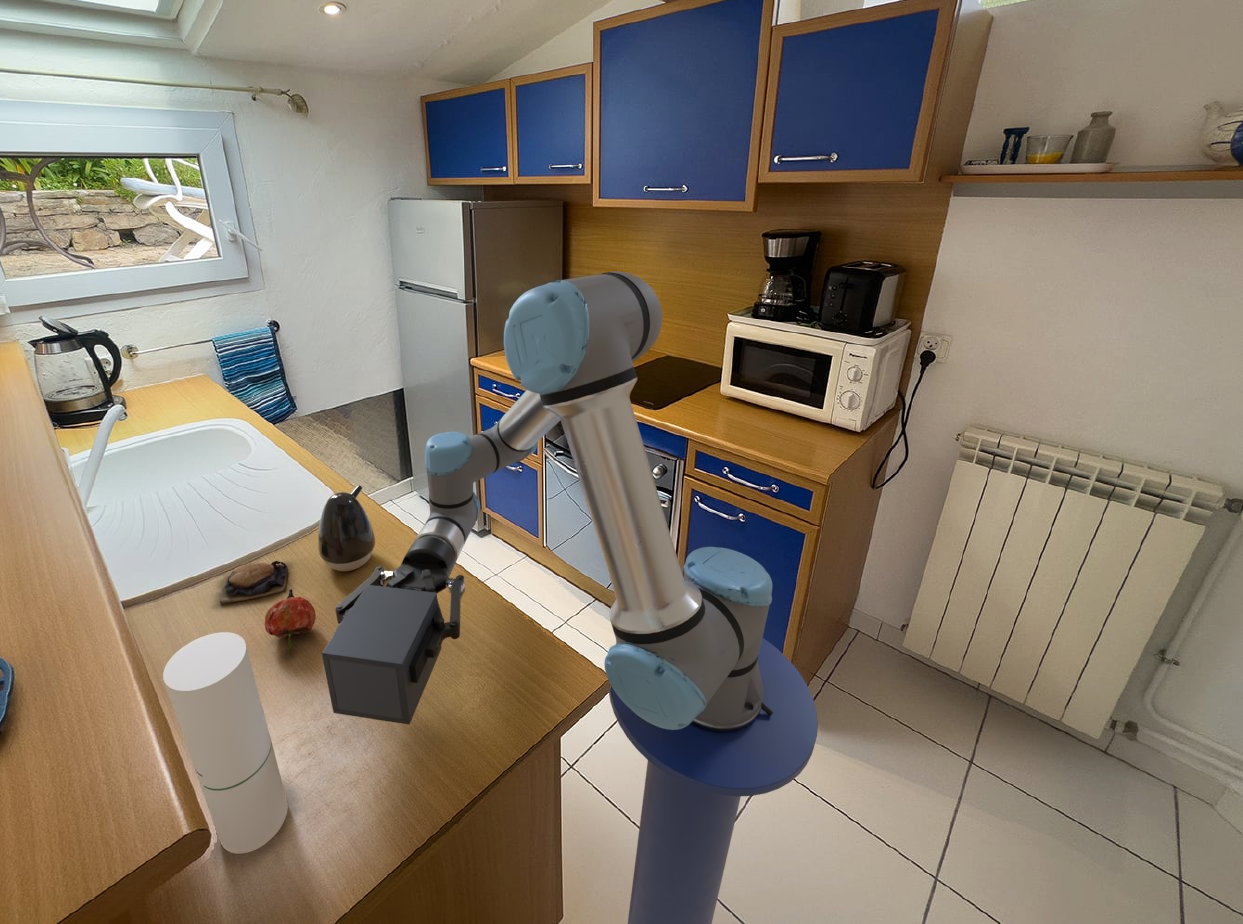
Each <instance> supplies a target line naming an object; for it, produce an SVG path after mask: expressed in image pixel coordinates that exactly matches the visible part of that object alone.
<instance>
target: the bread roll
mask: <svg viewBox="0 0 1243 924" xmlns="http://www.w3.org/2000/svg"><path fill="white" fill-rule="evenodd" d="M287 577H288V566H287V564H286V563H284V562H283V561H279V560H274V561H272V562H271V563H267V562H250V563H246V564H245V565H242V566H240V567H238V568H237V569H235V570H233V571H232V572H231V573H230V574H227V575H225V576H224V579H223V583H222V586H221V587H222V588H221V592H220V596H219V599H218V600H219V602H218V603H219V604H228V603H234V602H235V603H236V602H241V601H243V602H245V601H247V600H252V599H257V598H261V597H267V596H268V595H272V594H278V593H281V592H284V591H285V590H286V588H287V581H288V578H287Z"/></svg>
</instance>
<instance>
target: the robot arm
mask: <svg viewBox="0 0 1243 924" xmlns="http://www.w3.org/2000/svg"><path fill="white" fill-rule="evenodd" d="M662 325H663V311H662V305H661V302H660V300H659V298H658V295H657V293H655V291H654V289H653V288H652V287H651V285H649V284H648V283H647V282H646V281H645V280H643V279H642V278H640V277H639V276H637V275H635V274H632V273H630V272H626V271H625V272H624V271H607V272H602V273H599V274H593V275H585V276H579V277H573V278H567V279H558V280H554V281H553V282H552V281H551V282H548V283H544V284H543V285H539V286H536V287H533V288H530V289H529V290H526V291H525V292H524V293H522V294H521V295H520V296H519V297H518V298H517V299H516V300H515V302H514V303H513V305H512V306H511V308H510V310H509V314H508V318H507V319H506V321H505V325H504V330H503V349H504V355H505V360H506V363H507V366H508V368H509V371H510V372H511V374H512V376H513V377H514V379H515V380H516V381H520V384H521V385H520V386H521V387H523V388H524V389H525V391H524V393H522V394H521V396H520V397H518V398H517V400H516V401H515V402H514V403H513V404H512V406H511V407H510V408H509V409H507V411H506V412H505V413H504V414H503V416H502V417H501V418H500V419H499V421H497V422H496V423H495V424H494V425H493V426H492V427H490V428H489V429H486V430H483V431H482V432H479V433H476V434H474V435H471V436H468V435H467V434H465V433H463V432H460V431H451V430H450V431H447V432H439V433H436V434H434V435H433V436H431V437H429V439H428V440H427V441H426V443H425V451H424V462H425V463H424V466H425V467H424V468H425V471H426V479H427V486H428V504H429V516H428V518H427V520H426V521H425V523H424V525H423V526H422V528H421V529H420V530H419V533H418V534H417V536H416V537H415V538H414V539H413V542H412V544H411V545H410V547H409V548H408V550H407V551H406V553H405V555H404V557H403V559H402V562H401V563H400V565H399V566H398V567H397V568H395V569H394V570H385V567H384V566H383V565H377V566H376V567H375V569H374V570H373V572H372V574H371V575H370V576H369V577H368V578H367V579H366V580H364V581H363V582H362V583H361V584H360V585H359V586H357V588H355V589H354V590H352V591H351V593H349V595H347V596H346V597H345V598H344V599H342V600H341V601H340V602H339V603H338V604H337V605H336V606H335V607H334V610H335V615H336V621H337V624H338V626H337V627H336V629H335V631H333V635H334V634H335V632H336V631H337V629H338V628H339V626H340V625H341V623H342V622H343V620H344V619H345V617H346V616H347V614H348V613H349V611H350V610H351V608H352V607H353V605H354V604H355V602H356V601H357V599H358V598H359V596H360V595H361V593H362V592H363V590H364V589H365V587H366V586H367V585H375V586H384V587H392V588H401V589H409V590H418V591H426V592H435V593H437V594H439V593H441V592H442V591H444V590H445V589H448V593H450V607H449V621H447V622H445V618H444V617H443V613H442V610H441V606H440V602H439V600H438V599H439V598H437V602H438V607H437V609H436V611H435V614H434V616H433V623H434V626H429V625H428V627H427V630H426V632H425V634H424V636H423V638H422V640H421V642H420V644H419V646H418V649H417V651H416V653H415V655H414V657H413V659H412V661H411V663H410V666H409V667H410V675H411V682H413V683H417V682H418V680H419V678H420V675H421V673H422V671H423V669H424V666H425V664H426V662H427V660H428V657H429V658H434V657H435V656H436V655H437V653H438V651H439V648H440V646H441V647H442V644H443V642H444V641H445V639H447V638H451V639H452V640H457V639H459V638H461V637H460V636H461V606H462V605H461V603H462V602H461V601H462V597H463V595H464V594H465V591H466V587H465V576H464V575H463V574H458V575H456V576H455V578H453V577H450V576H451V574H452V572H453V570H454V568H455V565H456V563H457V561H458V558H459V557H460V555H461V553H462V551H463V548H464V547H465V544H466V542H467V540H468V538H469V536H470V534H471V533H472V530H473V529H474V527H475V525H476V523H477V521H478V519H479V514H480V510H481V502H480V500H479V498H478V496H477V495H476V493H475V492H474V483H476V482H478V481H480V480H482V479H484V478H486V477H488V476H490V475H492V474H494V473H496V472H498V471H500V470H503V469H504V468H507V467H509V466H511V465H513V464H516V463H518V462H521V461H523V460H525V459H526V458H528V457H529V456H530V455H532V454H534V453H535V452H536V450H537V449H538V443H539V441H540V440H541V439H542V438H544V437H545V436H546V435H547V433H549V432H550V431H552V429H553V428H554V427H556V425H557V424H559V423H560V422H561V426H562V429H563V432H564V435H565V438H566V441H567V445H568V448H569V452H570V455H571V458H572V462H573V464H574V467H575V471H576V473H577V477H578V481H579V483H580V487H581V489H582V492H583V496H584V499H585V502H586V506H587V509H588V512H589V516H590V518H591V522H592V525H593V528H594V531H595V534H596V538H597V541H598V545H599V547H600V550H601V551H600V552H601V554H602V557H603V559H604V564H605V567H606V571H607V573H608V576H609V580H610V583H611V586H612V589H613V592H614V595H615V600H614V602H613V604H612V605H611V607H610V609H609V613H608V616H609V617H608V618H609V621H610V624H611V627H612V631H613V634H614V637H615V644H614V645H611V646H610V647H609V649H608V652H607V653H606V656H605V658H604V672H605V675H606V678H607V681H608V680H609V682H610V684H611V686H612V688H613V689H614V691H615V692H616V694H617V695H618V696H619V698H620V699H621V700H622V701H623V702H624V703H625V704H626V705H627V706H628V707H629V708H630V709H631V710H632V711H633V712H634V713H636V714H637V715H638V716H639V717H641V718H642V719H644V720H645V721H647V722H649V723H651V724H653V725H655V726H658V727H660V728H664V729H669V730H677V729H682V728H684V727H686V726H688V725H689V724H692V725H694V726H696V727H698V728H701V729H704V730H707V731H711V732H718V733H730V732H736V731H740V730H742V729H745V728H746V727H748V726H750V725H751V724H752V723H753V722H754V721H755V720H756V719H757V717H758V715H759V714H760V711H761V709H762V710H763V711H765V712H766V713H767V714H768V715H769V716H771V715H772V714H773V712H772V711H771V710H770V709H769V708H768V707H767V706H766V705H765V704H764V703H762V702H763V683H762V679H761V674H760V669H759V665H758V655H759V651H760V646H761V642H762V638H764V633H765V628H766V624H767V620H768V614H769V609H770V605H771V604H772V602H773V597H772V596H773V595H772V593H773V581H772V578H771V575H770V574H769V573H768V572H767V570H766V568H765V567H764V566H763V565H762V564H761V563H759V562H758V561H756V560H755V559H754V558H752V557H750V556H749V555H747V554H744V553H743V552H739V551H737V550H734V549H731V548H726V547H718V546H717V547H716V546H704V547H700V548H697V549H694V550H693V551H691V552H690V553H689V554H688V555H687V556H686V559H685V563H684V564H683V572H682V568H681V566H680V562H679V558H678V555H677V552H676V549H675V546H674V541H673V539H672V536H671V532H670V529H669V526H668V522H667V519H666V516H665V512H664V509H663V506H662V502H661V498H660V496H659V495H660V494H659V492H658V489H657V486H656V483H655V482H656V481H655V478H654V475H653V472H652V468H651V465H650V461H649V459H648V454H647V451H646V448H645V444H644V441H643V439H642V434H641V432H640V429H639V428H640V427H639V425H638V422H637V418H636V414H635V412H634V408H633V405H632V402H631V399H630V397H631V393H632V390H633V389H634V387H635V385H636V383H637V381H638V376H637V373H636V369H635V367H634V363H635V362H636V361H638V360H639V359H640V358H641V357H642V356H643V355H646V353H647V352H648V351H649V350H650V349H651V348H653V346H654V344H655V343H656V341H657V340H658V338H659V336H660V333H661V330H662Z"/></svg>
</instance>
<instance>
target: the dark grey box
mask: <svg viewBox="0 0 1243 924" xmlns="http://www.w3.org/2000/svg"><path fill="white" fill-rule="evenodd" d="M437 599H438V593H435V592H426V591H418V590H409V589H401V588H392V587H384V586H375V585H367V586H366V587H365V589H364V590H363V592H362V593H361V595H360V596H359V598H358V599H357V601H356V602H355V604H354V605H353V607H352V608H351V610H350V611H349V613H348V614H347V616H346V617H345V619H344V620H343V622H342V623H341V625H340V624H339V625H340V626H339V625H338V626H339V628H338V627H337V628H338V629H337V628H336V629H337V631H336V630H335V631H336V632H335V631H334V632H335V634H334V633H333V635H332V637H331V638H330V639H329V641H328V642H327V645H325V647H324V649H323V650H322V652H321V657H322V662H323V668H324V672H325V673H324V674H325V677H326V678H325V679H326V682H327V687H328V693H329V697H330V703H331V707H332V713H333V714H337V715H343V716H350V717H357V718H363V719H370V720H376V721H382V722H388V723H389V722H390V723H395V724H402V725H407V726H408V725H410V724H411V722H412V720H413V717H414V715H415V713H416V710H417V708H418V706H419V703H420V702H421V701H420V700H421V698H422V696H423V694H424V691H425V689H426V686H427V685H428V681H429V679H430V677H431V675H432V672H433V670H434V667H435V665H436V662H437V660H438V658H439V655H440V654H441V651H442V645H441V646H440V648H439V651H438V653H437V655H436V656H435V657H434V658H429V657H428V660H427V662H426V664H425V666H424V669H423V671H422V673H421V675H420V678H419V680H418V682H417V683H413V682H411V675H410V667H409V666H410V663H411V661H412V659H413V657H414V655H415V653H416V651H417V649H418V646H419V644H420V642H421V640H422V638H423V636H424V634H425V632H426V630H427V627H428V625H429V626H434V623H433V616H434V614H435V611H436V609H437V607H438V603H439V601H438V602H437Z"/></svg>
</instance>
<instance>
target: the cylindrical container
mask: <svg viewBox="0 0 1243 924" xmlns="http://www.w3.org/2000/svg"><path fill="white" fill-rule="evenodd" d="M162 674H163V675H162V679H163V682H164V685H165V688H166V691H167V694H168V697H169V700H170V702H171V705H172V709H173V711H174V713H175V716H176V720H177V722H178V726H179V728H180V732H181V733H182V736H183V739H184V742H185V745H186V747H187V751H188V753H189V757H190V759H191V763H192V765H193V767H194V771H195V774H196V776H197V779H198V782H199V785H200V788H201V791H202V794H203V796H204V800H205V802H206V806H207V808H208V810H209V814H210V817H211V819H212V821H213V825H214V827H215V830H216V833H217V837H218V839H219V842H220V844H221V846H222V847H223V849H224V850H225V851H227V852H228V853H231V854H236V855H240V854H246V853H247V854H248V853H251V852H253V851H256V850H258V849H260V848H262V847H263V846H264V845H266V844H267V843H268V842H269V841H271V840H272V839H273V838H274V837H275V836H276V834H278V832H279V831H280V830H281V828H282V826H283V825H284V822H285V821H286V817H287V815H288V809H289V806H288V805H289V804H288V799H287V798H288V797H287V794H286V791H285V787H284V783H283V779H282V775H281V772H280V768H279V764H278V761H277V756H276V753H275V750H274V746H273V742H272V738H271V734H270V730H269V727H268V722H267V719H266V715H265V712H264V711H265V710H264V707H263V705H262V700H261V697H260V692H259V689H258V684H257V681H256V678H255V677H256V676H255V675H254V669H253V665H252V662H251V659H250V655H249V651H248V646H247V644H246V641H245V639H244V638H243V637H242V636H241V635H239V634H237V633H234V632H228V631H222V632H214V633H209V634H206V635H203V636H200V637H199V638H195V639H194V640H192V641H191V642H189V643H187V644H185V645H184V646H182V647H181V648H180V649H178V650H177V651H176V652H175V653H174V654H173V655H172V656H171V657H170V658H169V660H168V662H167V663H166V665H165V667H164V669H163V673H162Z"/></svg>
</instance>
